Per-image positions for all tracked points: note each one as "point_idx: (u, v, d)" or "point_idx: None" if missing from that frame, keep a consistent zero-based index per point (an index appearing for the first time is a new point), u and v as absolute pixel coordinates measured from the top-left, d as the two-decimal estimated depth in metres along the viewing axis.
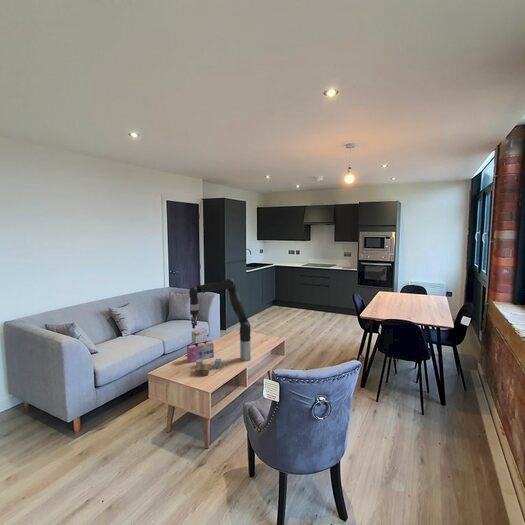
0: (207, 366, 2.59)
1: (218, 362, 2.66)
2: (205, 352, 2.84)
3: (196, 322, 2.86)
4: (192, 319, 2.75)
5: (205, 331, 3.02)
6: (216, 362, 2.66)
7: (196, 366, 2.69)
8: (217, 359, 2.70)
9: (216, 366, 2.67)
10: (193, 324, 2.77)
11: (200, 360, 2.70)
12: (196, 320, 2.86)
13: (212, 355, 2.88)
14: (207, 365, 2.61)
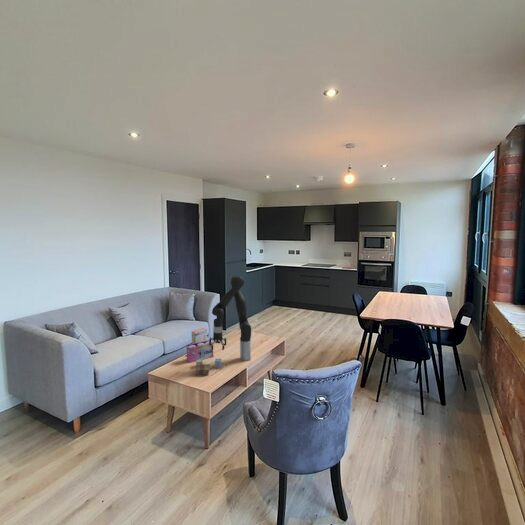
0: (207, 366, 2.59)
1: (218, 362, 2.66)
2: (205, 352, 2.84)
3: None
4: None
5: (205, 331, 3.02)
6: (216, 362, 2.66)
7: (196, 366, 2.69)
8: (217, 359, 2.70)
9: (216, 366, 2.67)
10: (224, 345, 2.67)
11: (200, 360, 2.70)
12: (213, 344, 2.68)
13: (212, 355, 2.88)
14: (207, 365, 2.61)
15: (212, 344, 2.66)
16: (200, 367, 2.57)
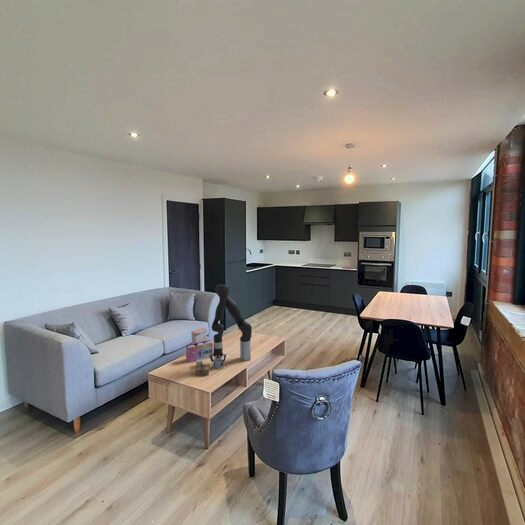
0: (207, 366, 2.59)
1: (218, 362, 2.66)
2: (204, 352, 2.84)
3: None
4: (225, 356, 2.68)
5: (205, 331, 3.02)
6: (216, 362, 2.66)
7: (196, 366, 2.69)
8: (217, 359, 2.70)
9: (216, 366, 2.67)
10: (222, 361, 2.69)
11: (200, 360, 2.70)
12: None
13: None
14: (207, 365, 2.61)
15: (214, 360, 2.67)
16: (200, 367, 2.57)
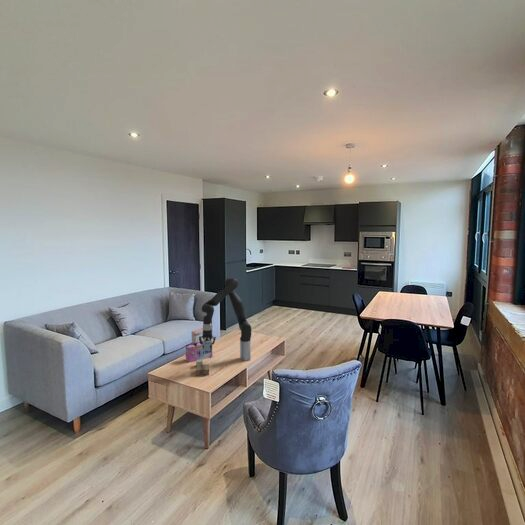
0: (207, 366, 2.59)
1: (207, 345, 2.57)
2: (204, 352, 2.85)
3: None
4: None
5: None
6: (205, 344, 2.57)
7: (196, 366, 2.69)
8: (206, 342, 2.61)
9: (205, 349, 2.58)
10: (212, 344, 2.60)
11: (200, 360, 2.70)
12: (204, 342, 2.61)
13: (211, 355, 2.89)
14: (207, 365, 2.61)
15: (203, 343, 2.58)
16: (200, 367, 2.57)
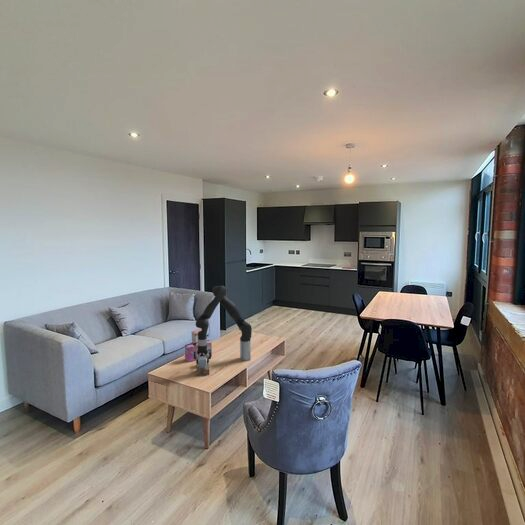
0: (207, 366, 2.60)
1: (203, 362, 2.55)
2: None
3: None
4: (210, 353, 2.56)
5: None
6: (200, 362, 2.55)
7: None
8: (202, 359, 2.58)
9: (200, 366, 2.55)
10: (208, 359, 2.57)
11: None
12: (198, 357, 2.58)
13: None
14: (206, 365, 2.61)
15: (197, 358, 2.56)
16: None
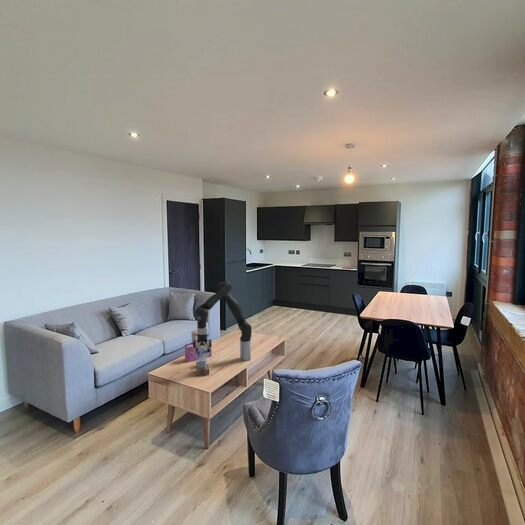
0: (207, 366, 2.59)
1: (203, 362, 2.55)
2: (203, 351, 2.85)
3: (197, 348, 2.57)
4: (210, 341, 2.55)
5: None
6: (200, 362, 2.55)
7: None
8: (202, 359, 2.58)
9: (200, 366, 2.55)
10: None
11: None
12: None
13: (210, 354, 2.89)
14: (206, 365, 2.61)
15: (196, 346, 2.54)
16: None
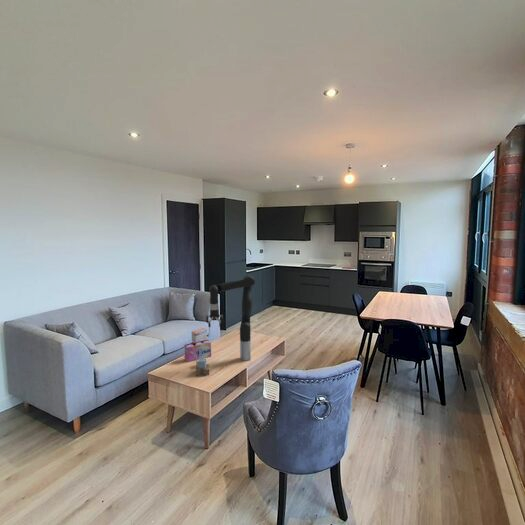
0: (207, 366, 2.59)
1: (202, 363, 2.54)
2: (203, 351, 2.85)
3: None
4: (222, 317, 2.74)
5: (205, 331, 3.02)
6: (200, 362, 2.54)
7: None
8: (202, 359, 2.58)
9: (200, 366, 2.55)
10: None
11: None
12: (210, 321, 2.75)
13: (209, 354, 2.90)
14: (206, 365, 2.61)
15: (209, 321, 2.73)
16: None
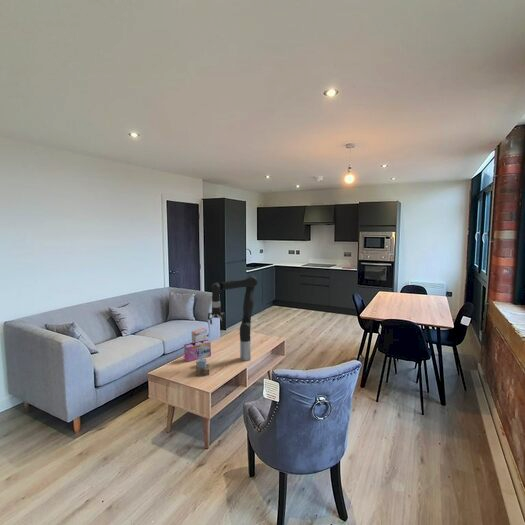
0: (207, 366, 2.59)
1: (202, 363, 2.54)
2: (202, 351, 2.85)
3: (211, 320, 2.78)
4: None
5: (205, 331, 3.02)
6: (200, 362, 2.54)
7: None
8: (202, 359, 2.58)
9: (200, 366, 2.55)
10: (222, 320, 2.77)
11: None
12: None
13: (209, 354, 2.90)
14: (206, 365, 2.61)
15: (211, 319, 2.76)
16: None
